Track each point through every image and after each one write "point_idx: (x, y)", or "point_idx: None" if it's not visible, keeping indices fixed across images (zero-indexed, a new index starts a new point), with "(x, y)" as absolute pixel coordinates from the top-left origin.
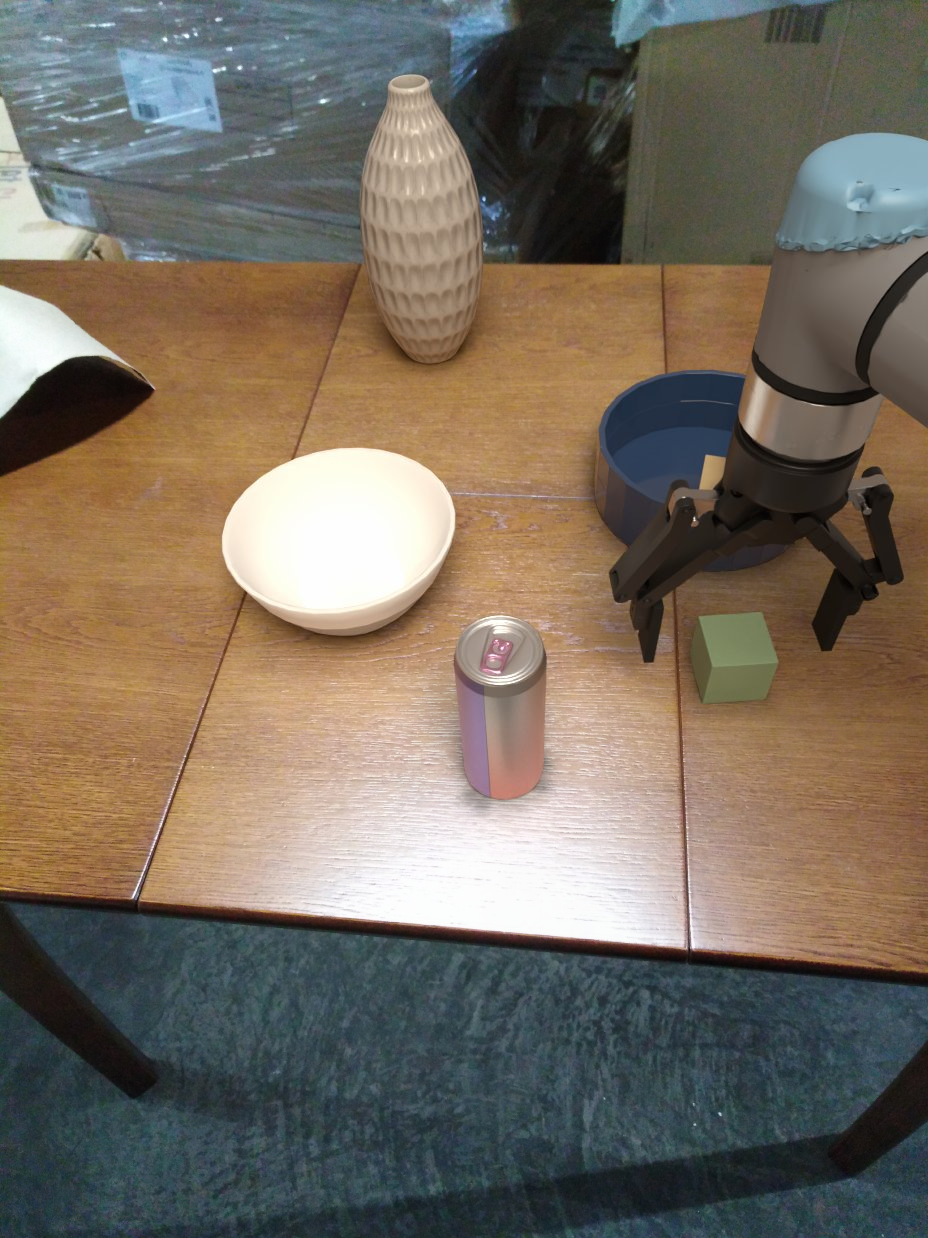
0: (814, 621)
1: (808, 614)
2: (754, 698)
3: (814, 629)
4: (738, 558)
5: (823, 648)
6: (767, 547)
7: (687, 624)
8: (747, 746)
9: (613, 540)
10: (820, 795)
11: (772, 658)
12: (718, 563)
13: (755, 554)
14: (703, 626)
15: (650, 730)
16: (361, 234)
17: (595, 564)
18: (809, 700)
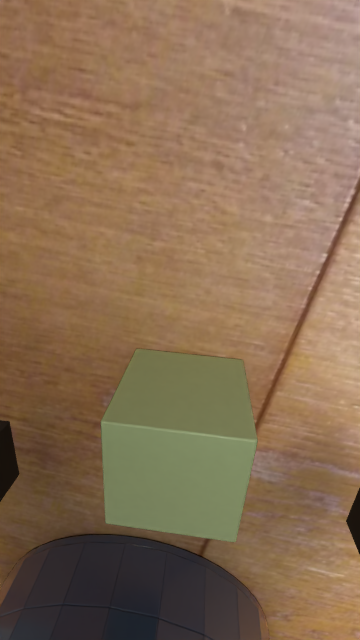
0: (8, 483)
1: (37, 461)
2: (154, 353)
3: (14, 465)
4: (112, 561)
5: (1, 428)
6: (68, 569)
7: None
8: (194, 267)
9: (264, 599)
10: (89, 135)
11: (112, 432)
12: (141, 556)
13: (87, 561)
14: (235, 522)
15: (356, 327)
16: None
17: (304, 579)
18: (65, 334)
